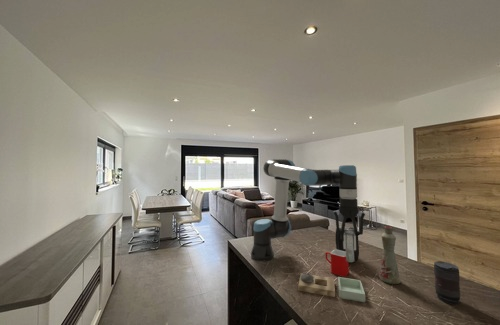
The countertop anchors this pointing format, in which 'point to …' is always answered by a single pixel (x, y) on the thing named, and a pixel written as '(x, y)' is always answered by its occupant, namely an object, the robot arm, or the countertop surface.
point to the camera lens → (447, 282)
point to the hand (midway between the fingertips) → (349, 248)
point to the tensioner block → (311, 281)
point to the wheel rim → (341, 246)
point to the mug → (338, 262)
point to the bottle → (389, 258)
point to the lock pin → (349, 244)
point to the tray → (351, 289)
